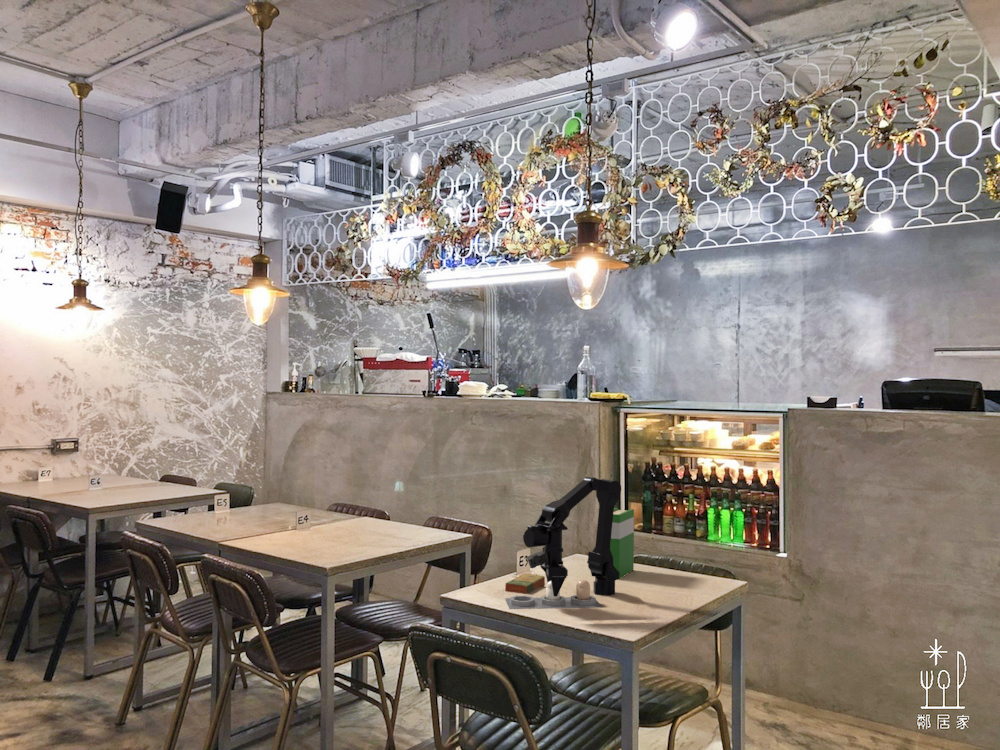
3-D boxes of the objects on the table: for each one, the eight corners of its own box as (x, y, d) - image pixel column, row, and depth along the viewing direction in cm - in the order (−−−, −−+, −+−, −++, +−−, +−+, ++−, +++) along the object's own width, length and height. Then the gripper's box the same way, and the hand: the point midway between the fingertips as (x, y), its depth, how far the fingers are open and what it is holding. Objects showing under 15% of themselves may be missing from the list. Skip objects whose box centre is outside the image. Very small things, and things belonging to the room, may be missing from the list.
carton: (545, 587, 279) (545, 575, 279) (526, 597, 265) (526, 585, 265) (524, 584, 283) (524, 572, 283) (504, 594, 268) (504, 582, 268)
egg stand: (593, 599, 261) (593, 592, 261) (602, 610, 248) (602, 602, 248) (504, 601, 258) (504, 593, 258) (509, 612, 245) (509, 604, 245)
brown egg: (588, 600, 257) (588, 578, 257) (591, 603, 252) (591, 581, 253) (575, 600, 256) (575, 578, 257) (577, 604, 252) (577, 581, 252)
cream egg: (558, 600, 256) (558, 578, 256) (560, 604, 251) (560, 581, 252) (545, 601, 255) (545, 578, 256) (547, 604, 251) (547, 582, 251)
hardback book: (615, 568, 310) (615, 507, 311) (633, 570, 307) (633, 509, 307) (600, 577, 294) (600, 513, 295) (619, 579, 291) (619, 515, 292)
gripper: (524, 539, 262) (524, 586, 262) (533, 550, 244) (532, 600, 243) (557, 539, 263) (557, 585, 263) (568, 549, 245) (567, 599, 244)
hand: (552, 592), depth 253 cm, fingers open, 9 cm apart
